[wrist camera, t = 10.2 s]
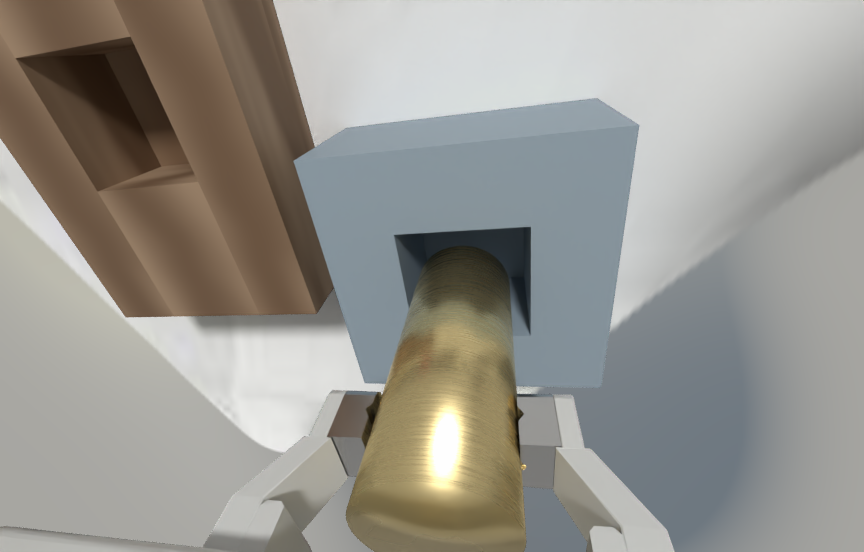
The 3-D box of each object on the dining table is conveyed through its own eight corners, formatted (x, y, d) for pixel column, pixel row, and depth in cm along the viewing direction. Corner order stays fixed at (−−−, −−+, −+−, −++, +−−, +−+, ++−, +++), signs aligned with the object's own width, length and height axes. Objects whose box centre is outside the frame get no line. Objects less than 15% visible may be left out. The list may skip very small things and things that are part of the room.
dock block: (597, 98, 17) (639, 125, 12) (578, 311, 23) (601, 387, 18) (346, 128, 19) (293, 160, 14) (390, 314, 25) (364, 383, 20)
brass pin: (508, 242, 15) (525, 489, 7) (510, 320, 17) (526, 583, 9) (412, 248, 16) (324, 476, 8) (425, 321, 18) (367, 565, 10)
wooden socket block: (209, -221, 13) (79, -336, 9) (348, 264, 24) (316, 313, 20) (-42, -138, 16) (-236, -200, 12) (185, 272, 26) (125, 317, 22)
